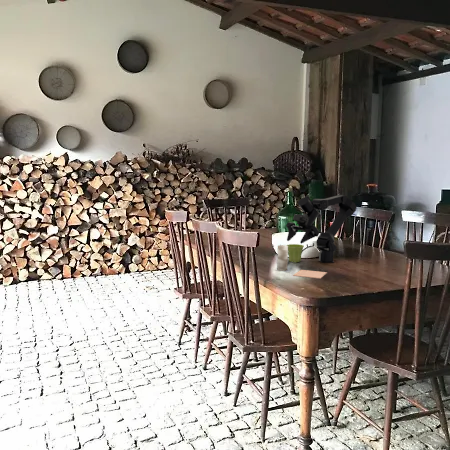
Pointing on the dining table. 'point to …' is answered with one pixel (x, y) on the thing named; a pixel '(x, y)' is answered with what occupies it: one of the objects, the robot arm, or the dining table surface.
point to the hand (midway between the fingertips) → (294, 241)
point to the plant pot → (295, 252)
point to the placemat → (310, 274)
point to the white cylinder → (282, 258)
